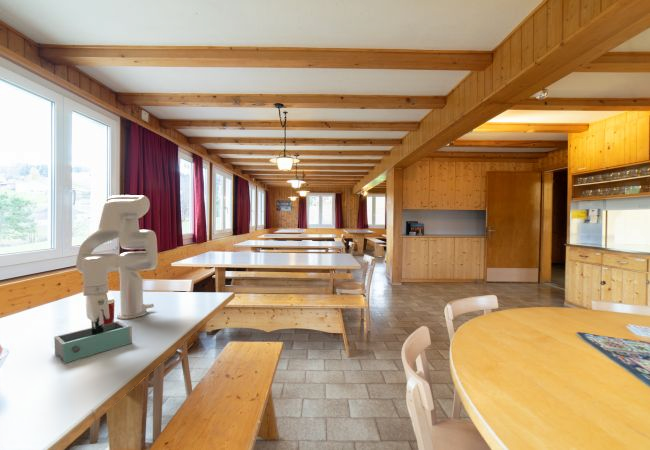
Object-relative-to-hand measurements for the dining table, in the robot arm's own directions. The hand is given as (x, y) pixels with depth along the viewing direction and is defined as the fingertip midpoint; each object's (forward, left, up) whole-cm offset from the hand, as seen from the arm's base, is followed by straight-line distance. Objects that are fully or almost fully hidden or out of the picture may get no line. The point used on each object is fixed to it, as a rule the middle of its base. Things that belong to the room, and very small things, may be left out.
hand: (97, 338), depth 115 cm
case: (+1, -2, -4) cm, 4 cm away
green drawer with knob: (+1, +6, -3) cm, 7 cm away
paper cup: (-7, -17, -4) cm, 19 cm away
